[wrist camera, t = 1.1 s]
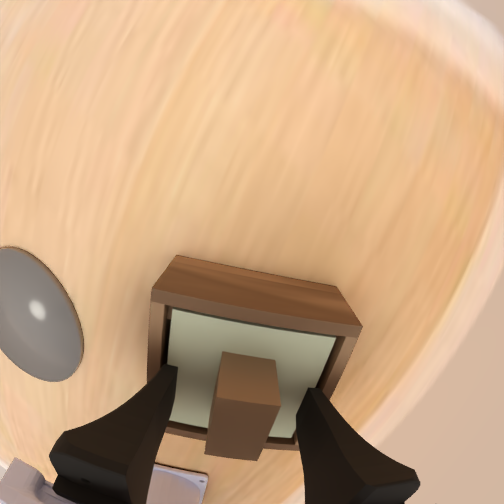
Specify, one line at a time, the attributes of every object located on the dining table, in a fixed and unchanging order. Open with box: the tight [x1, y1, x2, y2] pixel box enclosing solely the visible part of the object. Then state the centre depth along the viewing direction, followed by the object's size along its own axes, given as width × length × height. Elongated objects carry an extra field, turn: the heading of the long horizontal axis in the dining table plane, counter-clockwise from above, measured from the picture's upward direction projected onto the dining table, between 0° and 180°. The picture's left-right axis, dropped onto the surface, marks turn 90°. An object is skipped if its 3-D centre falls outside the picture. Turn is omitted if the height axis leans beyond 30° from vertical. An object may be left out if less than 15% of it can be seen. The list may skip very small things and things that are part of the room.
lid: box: [167, 307, 336, 461], centre depth 12 cm, size 7×7×4 cm
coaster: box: [0, 247, 84, 382], centre depth 17 cm, size 11×11×1 cm
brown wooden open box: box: [147, 255, 363, 451], centre depth 15 cm, size 9×9×4 cm
